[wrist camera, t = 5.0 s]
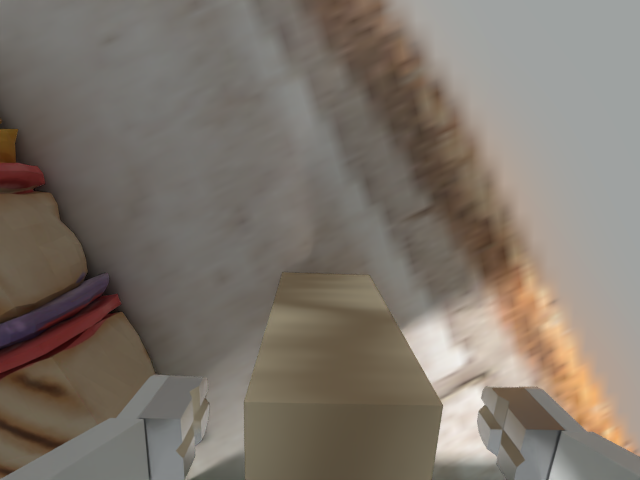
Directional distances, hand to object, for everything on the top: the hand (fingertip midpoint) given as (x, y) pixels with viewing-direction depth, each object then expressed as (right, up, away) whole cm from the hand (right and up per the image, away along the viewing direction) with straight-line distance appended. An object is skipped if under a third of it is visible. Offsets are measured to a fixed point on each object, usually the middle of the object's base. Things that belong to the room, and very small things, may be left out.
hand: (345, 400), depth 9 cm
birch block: (-1, +1, +5) cm, 6 cm away
